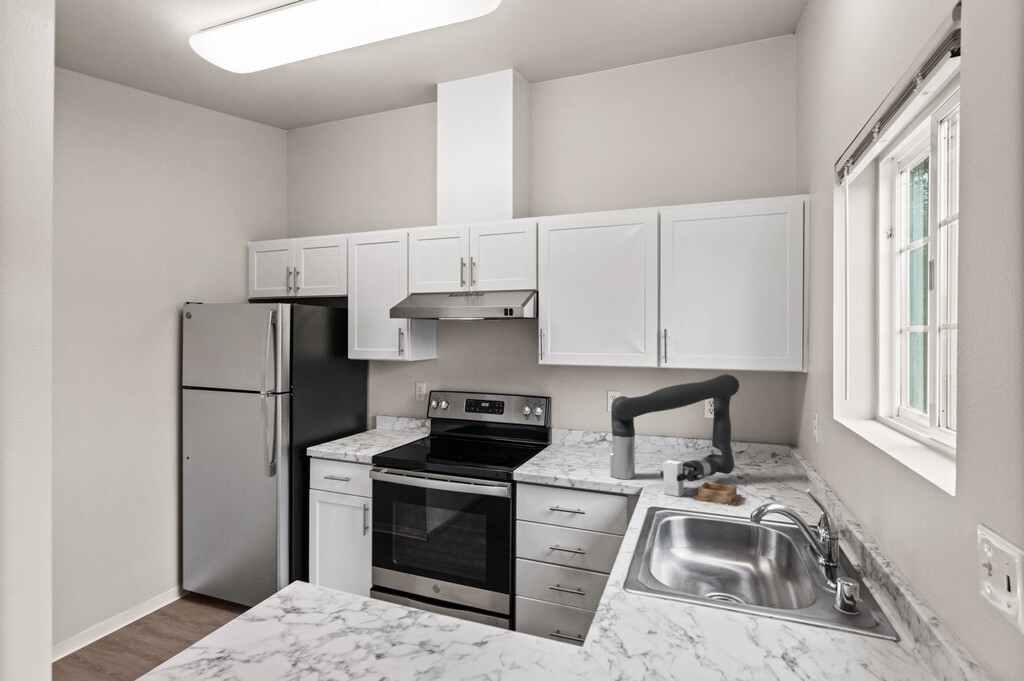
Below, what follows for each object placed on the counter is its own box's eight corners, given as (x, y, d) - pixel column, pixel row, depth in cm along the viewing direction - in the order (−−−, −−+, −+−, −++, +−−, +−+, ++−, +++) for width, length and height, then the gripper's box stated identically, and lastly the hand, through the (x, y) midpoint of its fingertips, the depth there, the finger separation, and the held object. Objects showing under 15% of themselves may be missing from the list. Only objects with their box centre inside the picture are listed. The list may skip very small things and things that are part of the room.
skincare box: (684, 494, 203) (684, 461, 203) (678, 497, 200) (678, 463, 200) (668, 491, 207) (668, 459, 207) (662, 494, 204) (662, 461, 204)
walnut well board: (693, 499, 197) (693, 488, 197) (701, 491, 207) (701, 481, 207) (735, 506, 189) (735, 494, 189) (741, 497, 199) (741, 486, 199)
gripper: (680, 456, 218) (653, 462, 208) (712, 463, 207) (686, 469, 196) (680, 475, 218) (653, 482, 208) (712, 483, 207) (686, 490, 196)
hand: (669, 476), depth 202 cm, fingers closed on skincare box, 6 cm apart
